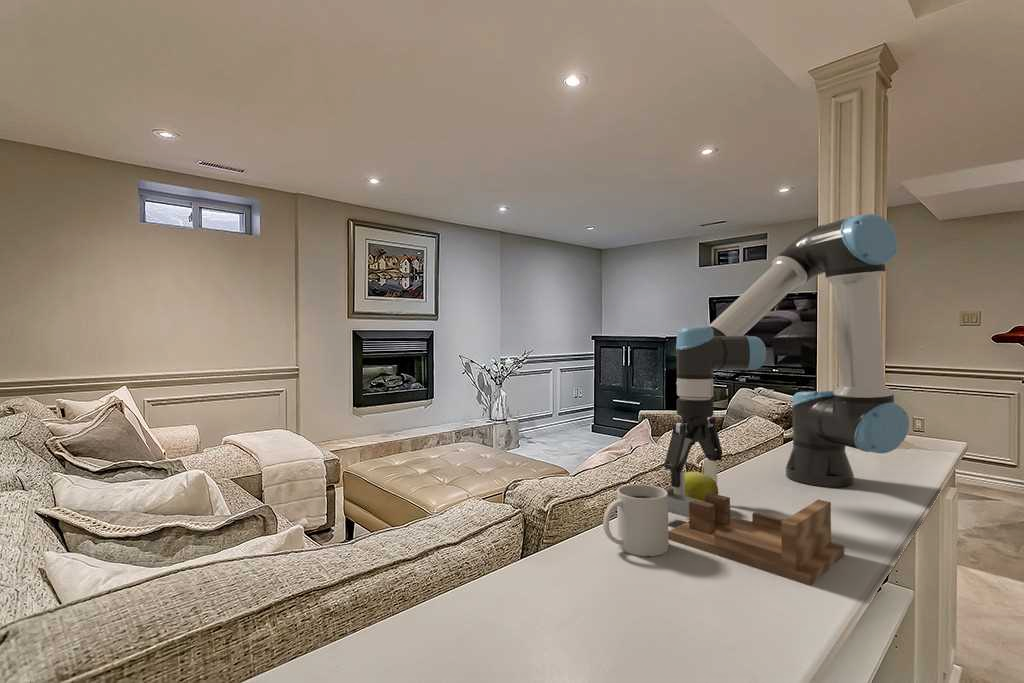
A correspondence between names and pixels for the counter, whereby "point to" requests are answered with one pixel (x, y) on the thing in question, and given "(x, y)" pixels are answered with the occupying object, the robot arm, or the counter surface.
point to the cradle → (764, 538)
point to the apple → (699, 485)
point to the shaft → (679, 503)
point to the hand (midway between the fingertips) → (694, 495)
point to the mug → (640, 520)
